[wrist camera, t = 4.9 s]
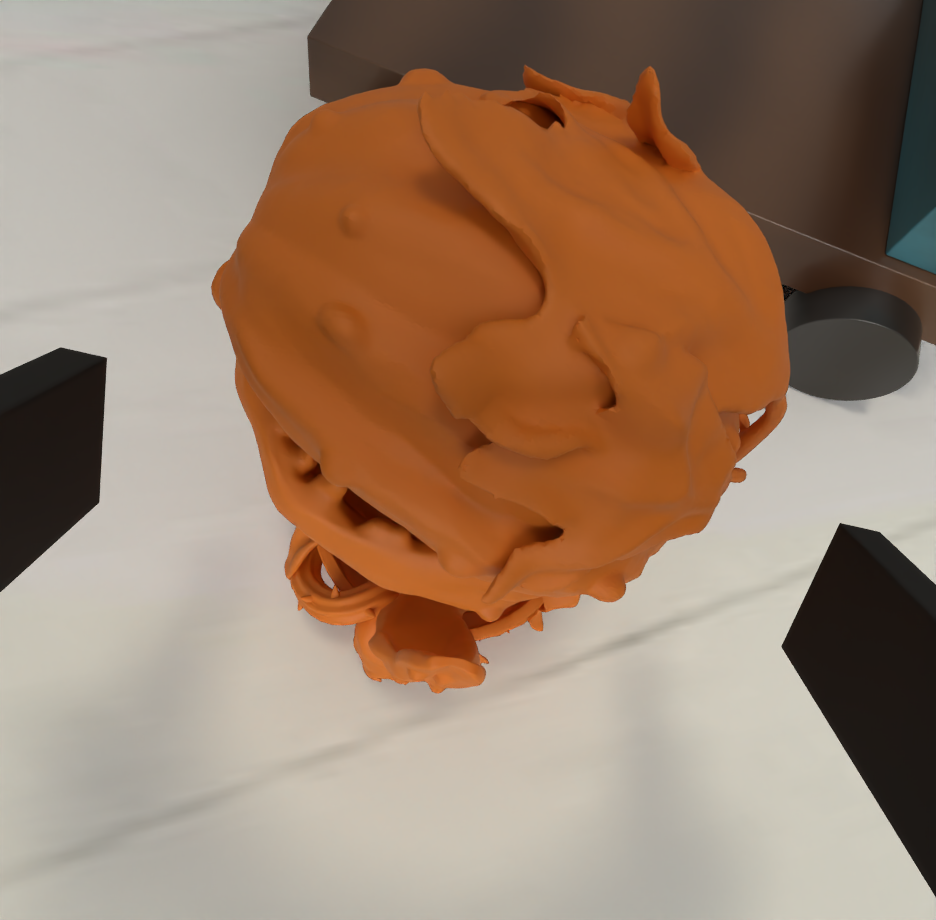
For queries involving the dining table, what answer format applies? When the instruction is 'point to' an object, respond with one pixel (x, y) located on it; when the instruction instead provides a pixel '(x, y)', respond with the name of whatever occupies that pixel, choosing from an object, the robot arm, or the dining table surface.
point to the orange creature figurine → (494, 356)
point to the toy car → (732, 133)
